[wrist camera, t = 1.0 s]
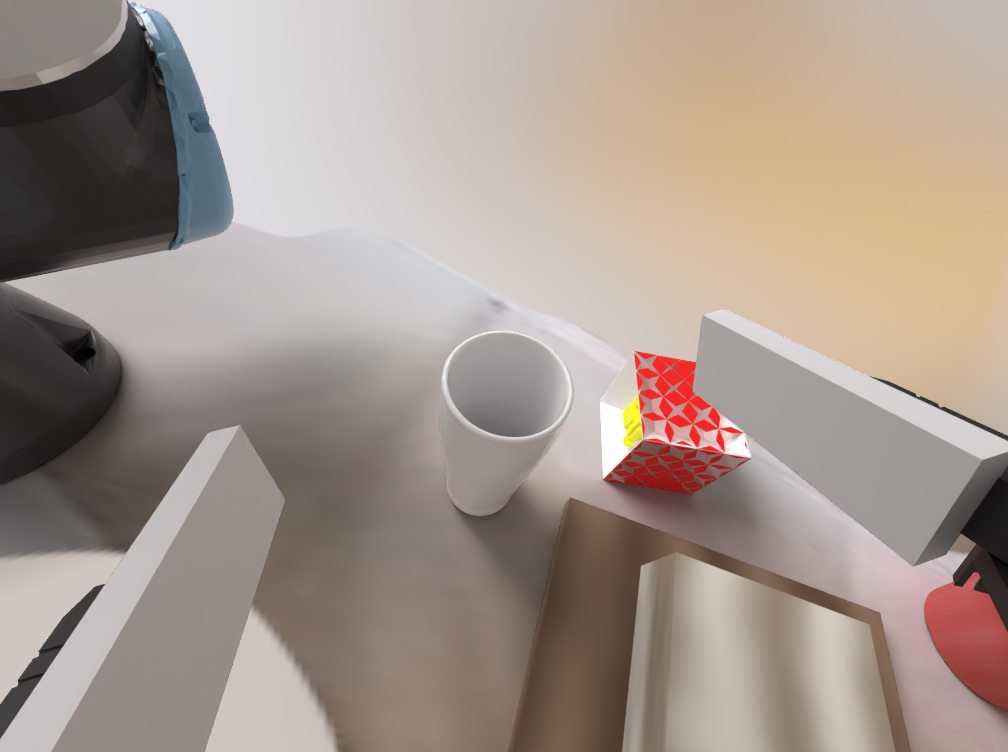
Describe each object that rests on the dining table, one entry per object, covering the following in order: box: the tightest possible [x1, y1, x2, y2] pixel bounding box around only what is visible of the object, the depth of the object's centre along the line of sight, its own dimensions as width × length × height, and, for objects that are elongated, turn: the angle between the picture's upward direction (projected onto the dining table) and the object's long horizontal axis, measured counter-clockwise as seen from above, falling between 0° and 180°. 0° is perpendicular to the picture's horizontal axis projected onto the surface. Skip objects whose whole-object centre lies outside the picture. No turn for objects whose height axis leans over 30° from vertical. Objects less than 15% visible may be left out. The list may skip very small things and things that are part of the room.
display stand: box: [508, 498, 911, 752], centre depth 23 cm, size 24×18×6 cm
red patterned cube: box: [600, 351, 751, 494], centre depth 33 cm, size 8×8×8 cm
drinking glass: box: [439, 331, 574, 516], centre depth 26 cm, size 7×7×15 cm
